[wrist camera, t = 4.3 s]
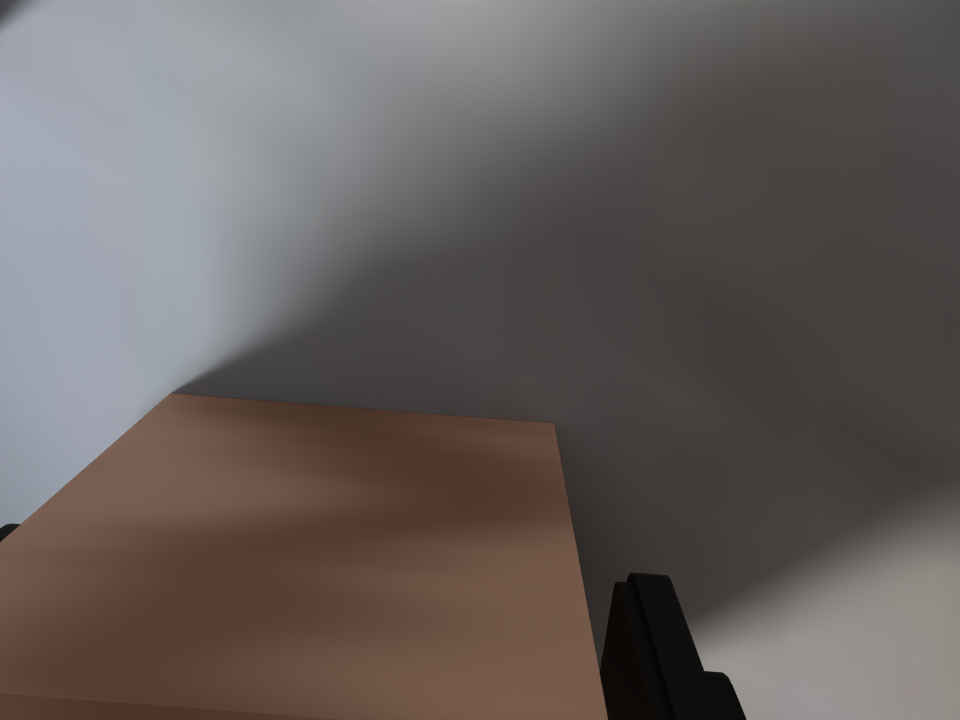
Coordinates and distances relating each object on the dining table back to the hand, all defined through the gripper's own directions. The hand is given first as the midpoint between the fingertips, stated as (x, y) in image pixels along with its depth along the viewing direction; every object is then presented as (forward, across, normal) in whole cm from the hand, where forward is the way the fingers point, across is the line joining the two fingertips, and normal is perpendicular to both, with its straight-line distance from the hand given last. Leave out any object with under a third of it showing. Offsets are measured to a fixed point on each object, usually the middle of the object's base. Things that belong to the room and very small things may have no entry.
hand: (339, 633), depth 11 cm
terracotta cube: (+2, 0, 0) cm, 2 cm away
